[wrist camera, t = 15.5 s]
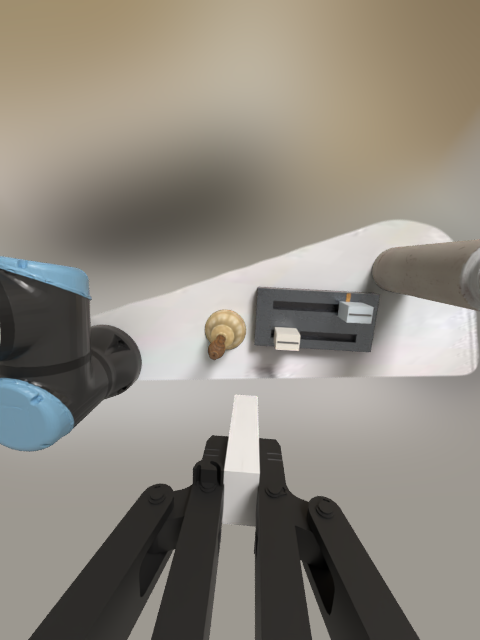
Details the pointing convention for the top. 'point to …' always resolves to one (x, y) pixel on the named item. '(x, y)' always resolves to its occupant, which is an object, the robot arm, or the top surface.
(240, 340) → the hand bell
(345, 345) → the console
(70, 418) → the robot arm
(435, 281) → the thermos bottle
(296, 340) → the fader
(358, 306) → the fader
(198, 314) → the top surface
